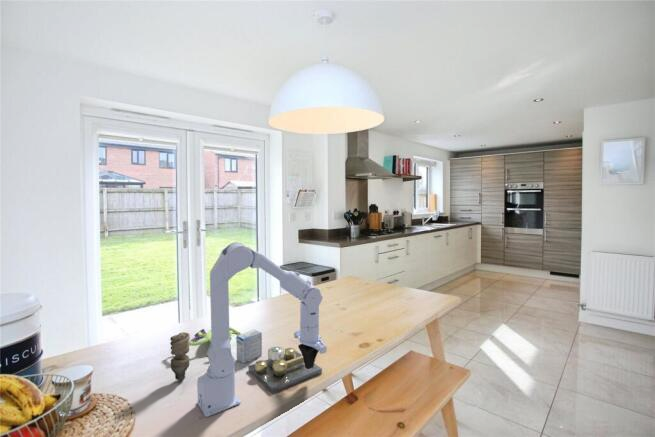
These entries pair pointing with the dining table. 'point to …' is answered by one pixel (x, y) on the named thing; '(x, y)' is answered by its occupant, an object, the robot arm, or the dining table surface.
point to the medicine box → (249, 345)
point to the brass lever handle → (285, 365)
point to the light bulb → (180, 354)
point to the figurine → (209, 336)
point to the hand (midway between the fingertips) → (309, 367)
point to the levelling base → (293, 375)
